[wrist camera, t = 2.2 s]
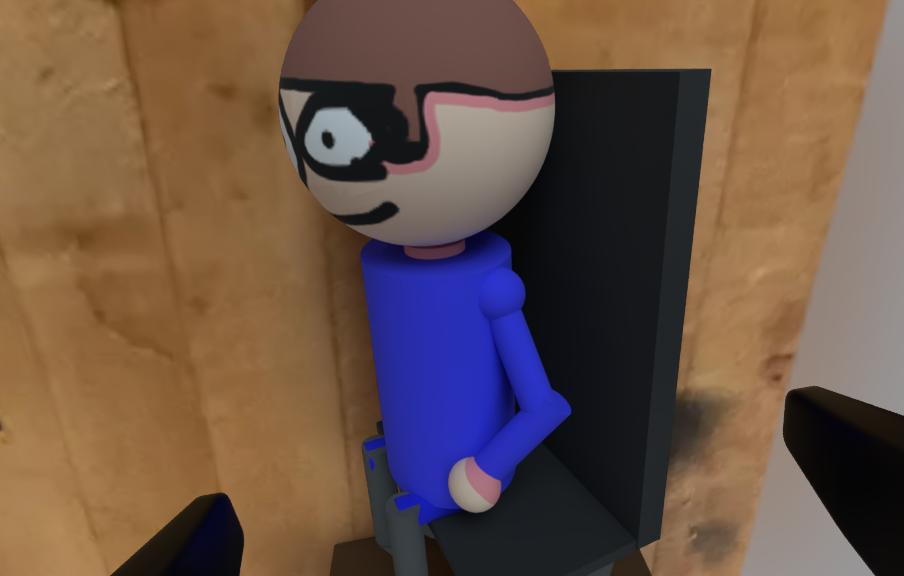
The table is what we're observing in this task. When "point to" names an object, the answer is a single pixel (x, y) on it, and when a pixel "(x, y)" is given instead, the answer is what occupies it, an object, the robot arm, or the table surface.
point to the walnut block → (434, 561)
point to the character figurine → (504, 275)
